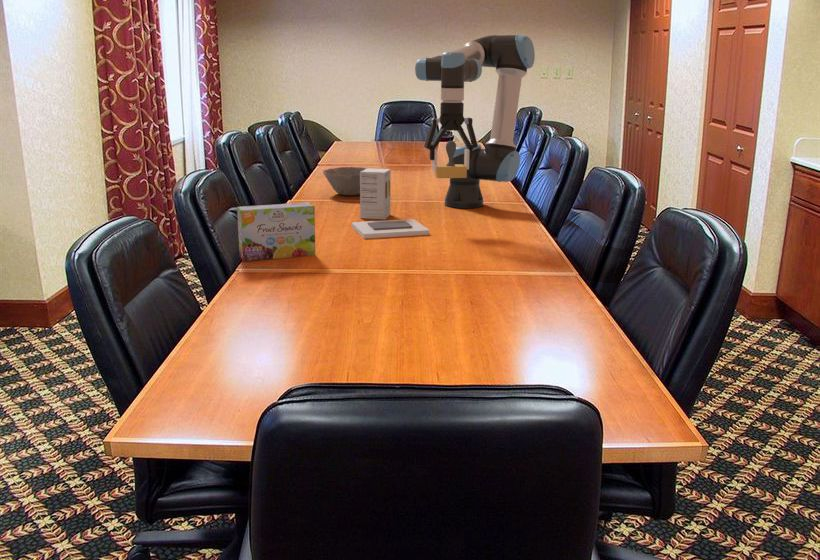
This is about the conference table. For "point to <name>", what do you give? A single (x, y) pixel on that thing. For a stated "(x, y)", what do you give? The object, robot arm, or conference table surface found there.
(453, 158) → the robot arm
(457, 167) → the rubber stamp
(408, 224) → the pad
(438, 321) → the conference table surface
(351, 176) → the ceramic bowl
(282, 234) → the snack box
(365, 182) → the supplement box
